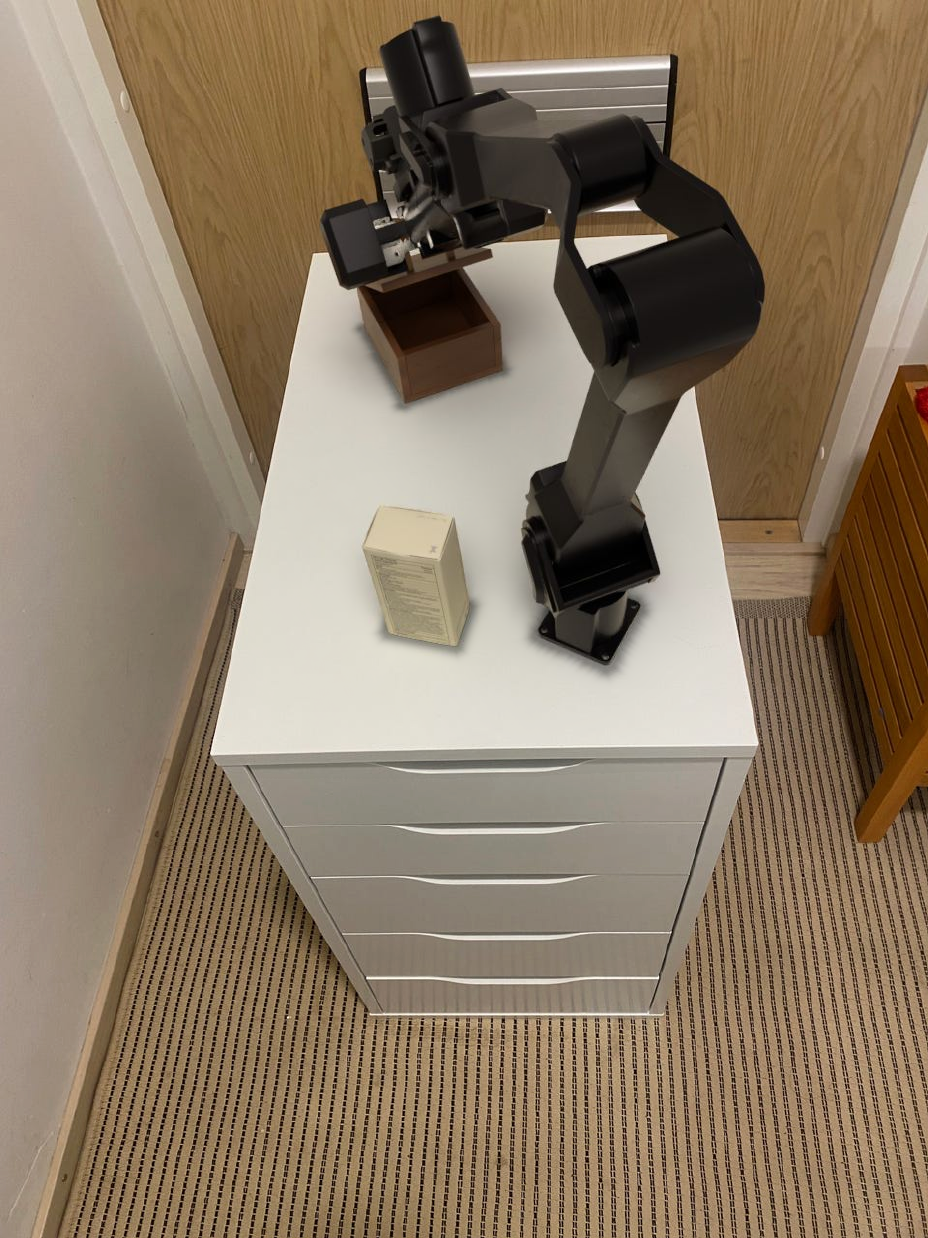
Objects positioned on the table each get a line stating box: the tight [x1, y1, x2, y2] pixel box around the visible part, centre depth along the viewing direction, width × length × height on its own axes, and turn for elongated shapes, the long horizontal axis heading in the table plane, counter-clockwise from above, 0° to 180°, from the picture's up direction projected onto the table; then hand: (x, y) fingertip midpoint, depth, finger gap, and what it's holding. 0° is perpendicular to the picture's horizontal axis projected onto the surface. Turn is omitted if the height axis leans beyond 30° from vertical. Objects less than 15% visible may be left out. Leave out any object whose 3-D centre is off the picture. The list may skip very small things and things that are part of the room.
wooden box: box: [356, 267, 504, 404], centre depth 95 cm, size 13×11×6 cm
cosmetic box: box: [361, 504, 471, 647], centre depth 74 cm, size 6×4×12 cm
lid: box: [365, 236, 494, 293], centre depth 89 cm, size 13×11×5 cm
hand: (418, 242), depth 87 cm, fingers closed on lid, 5 cm apart
